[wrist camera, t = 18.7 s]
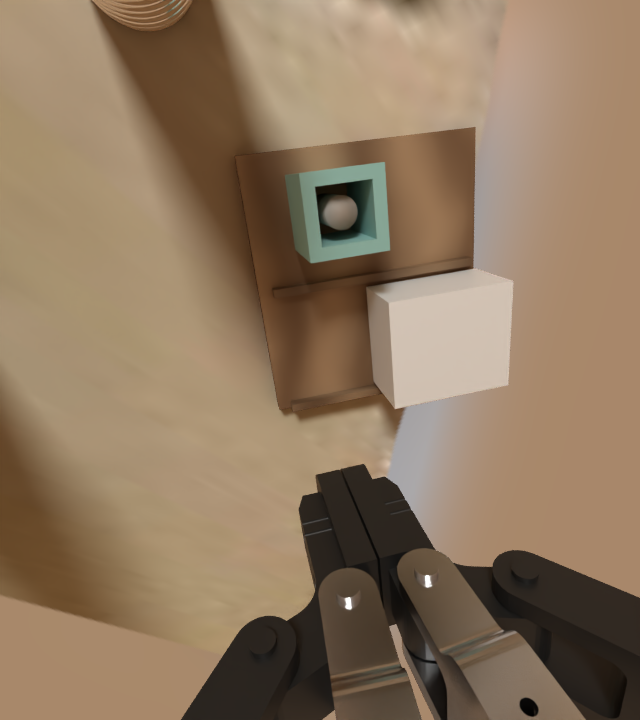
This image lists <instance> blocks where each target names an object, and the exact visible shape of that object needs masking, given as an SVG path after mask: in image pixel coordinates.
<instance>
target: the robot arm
mask: <svg viewBox="0 0 640 720" xmlns="http://www.w3.org/2000/svg"><path fill="white" fill-rule="evenodd" d="M316 483H317V490H318V493H313V494H309V495H305V496H303V497H302V500H301V503H300V507H299V514H300V520H301V526H302V532H303V538H304V543H305V549H306V553H307V557H308V562H309V566H310V570H311V574H312V579H313V583H314V587H315V593H314V596H313V598H312V600H311V602H310V603H309V604H308V605H307V607H306V608H305V609H304V610H303V611H301V612H300V613H298V614H297V615H295V616H294V617H292V618H291V619H289V620H288V621H285V620H284V619H282V618H280V617H276V616H264V617H259V618H257V619H254V620H253V621H251V622H249V623H248V624H246V625H245V626H244V627H243V628H242V629H241V630H240V631H239V633H238V634H237V635H236V637H235V638H234V640H233V642H232V643H231V645H230V646H229V648H228V649H227V651H226V652H225V654H224V655H223V657H222V658H221V660H220V661H219V663H218V665H217V666H216V667H215V669H214V670H213V672H212V673H211V675H210V677H209V678H208V679H207V681H206V683H205V684H204V686H203V687H202V689H201V690H200V692H199V693H198V695H197V696H196V698H195V699H194V701H193V702H192V704H191V705H190V707H189V708H188V710H187V711H186V713H185V714H184V716H183V717H182V719H181V720H322V719H323V718H325V717H326V716H327V715H328V714H330V713H331V712H332V711H334V710H335V714H336V720H422V719H421V715H420V712H419V709H418V706H417V703H416V699H415V696H414V693H413V689H412V686H411V683H410V680H409V677H408V674H407V672H406V670H405V668H402V667H401V664H400V662H399V658H398V655H397V652H396V649H395V645H394V642H393V638H392V635H391V631H390V628H389V626H391V625H394V624H397V626H398V629H399V631H400V634H401V637H402V648H403V654H404V656H405V659H406V661H407V663H408V665H409V667H410V669H411V671H412V673H413V675H414V678H415V680H416V682H417V684H418V686H419V688H420V690H421V692H422V694H423V697H424V699H425V701H426V703H427V705H428V707H429V709H430V711H431V713H432V715H433V717H434V720H640V598H639V597H636V596H634V595H631V594H629V593H627V592H624V591H622V590H619V589H617V588H615V587H612V586H610V585H608V584H605V583H603V582H600V581H598V580H595V579H593V578H591V577H588V576H586V575H583V574H581V573H579V572H576V571H574V570H571V569H569V568H566V567H564V566H562V565H559V564H557V563H555V562H552V561H549V560H547V559H545V558H542V557H540V556H538V555H535V554H533V553H529V552H526V551H519V550H515V551H514V550H512V551H507V552H504V553H502V554H500V555H499V556H498V557H497V558H496V559H495V560H494V563H493V567H471V566H463V565H458V564H455V563H453V562H452V561H451V560H450V559H449V558H448V557H447V556H446V555H444V554H443V553H441V552H439V551H436V550H435V548H434V547H433V545H432V544H431V542H430V540H429V538H428V537H427V535H426V533H425V532H424V530H423V529H422V527H421V525H420V523H419V522H418V520H417V518H416V517H415V515H414V513H413V511H411V509H410V506H409V504H408V503H407V501H406V500H405V498H404V496H403V494H402V493H401V491H400V489H399V488H398V486H397V485H396V484H394V483H393V482H391V481H390V480H389V479H387V478H386V477H381V478H377V479H373V480H372V478H371V476H370V474H369V472H368V470H367V468H366V466H365V465H364V464H361V465H357V466H352V467H348V468H344V469H340V470H335V471H331V472H327V473H322V474H318V475H316Z"/></svg>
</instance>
